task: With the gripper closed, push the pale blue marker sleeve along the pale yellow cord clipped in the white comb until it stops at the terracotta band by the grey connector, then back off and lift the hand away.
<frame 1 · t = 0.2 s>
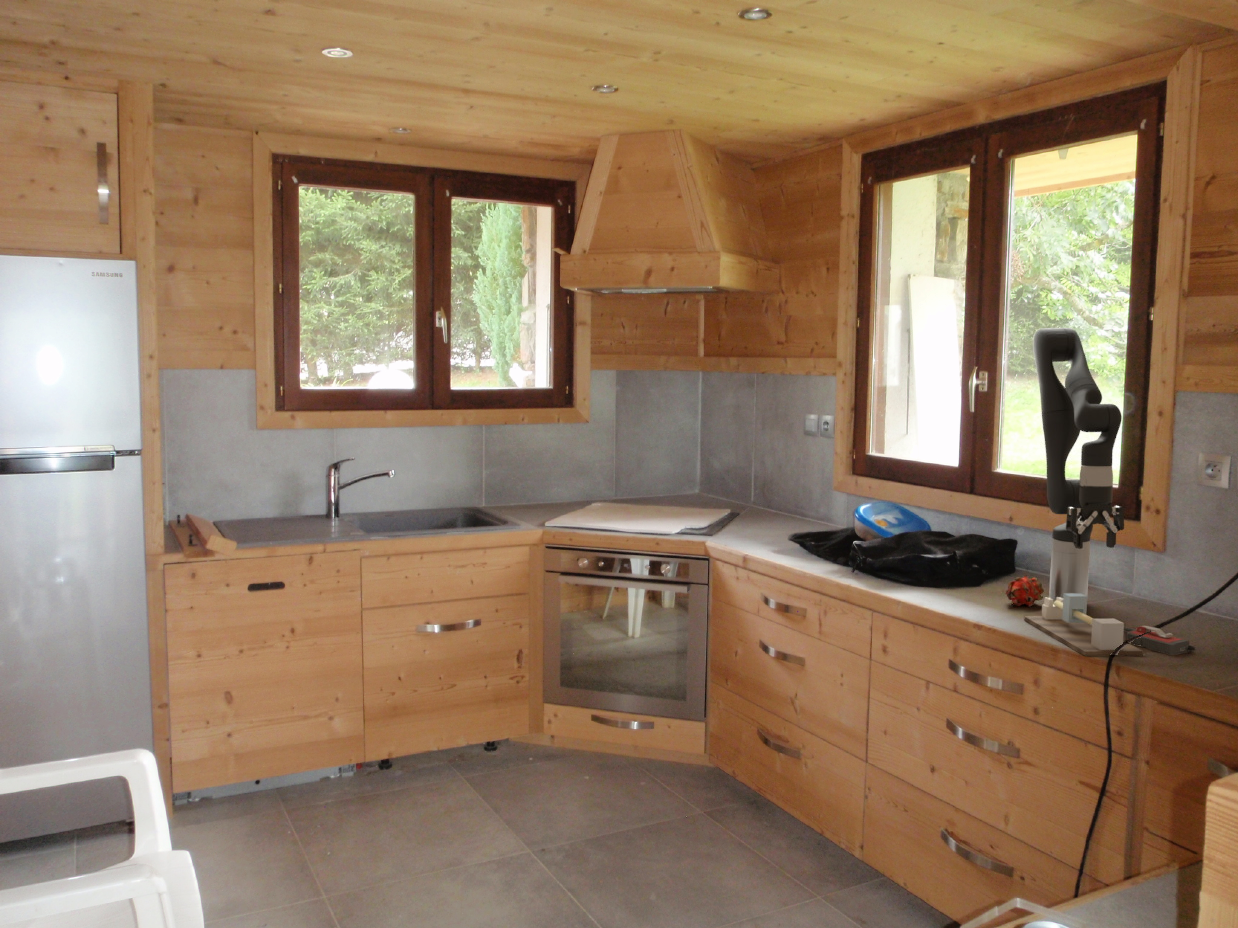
hand: (1094, 547, 250), 18 cm above the counter, tool pointing down, fingers open, 8 cm apart
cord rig: (1080, 619, 233), on the board, point 4 cm above the counter
sleeve: (1074, 608, 236), point 6 cm above the counter, slide at 0.0 cm
dragon fruit: (1023, 606, 263), on the counter
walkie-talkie: (1147, 645, 229), on the counter
board: (1079, 636, 233), on the counter
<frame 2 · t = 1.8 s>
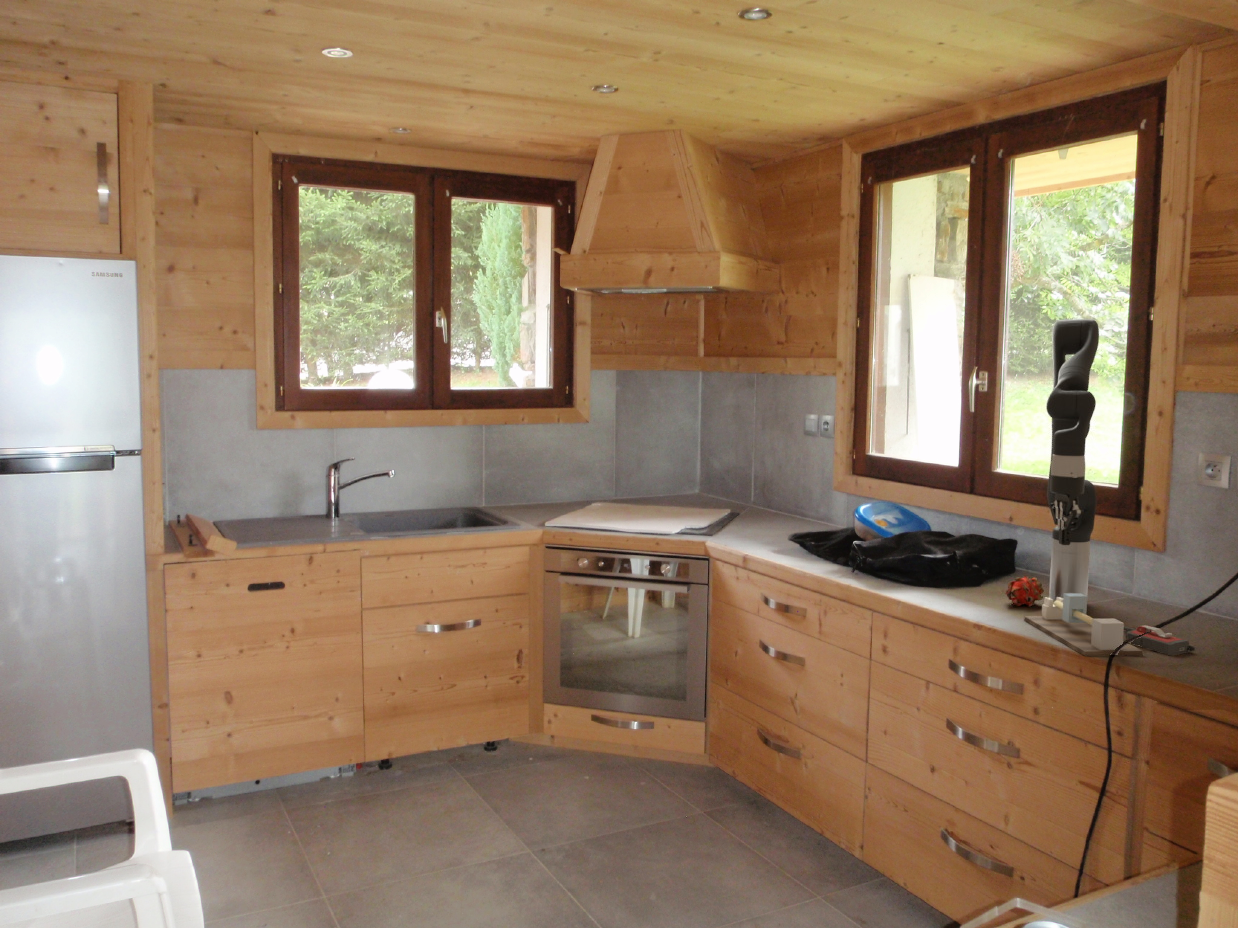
hand: (1064, 544, 241), 20 cm above the counter, tool pointing down, fingers closed
nothing on the counter moved.
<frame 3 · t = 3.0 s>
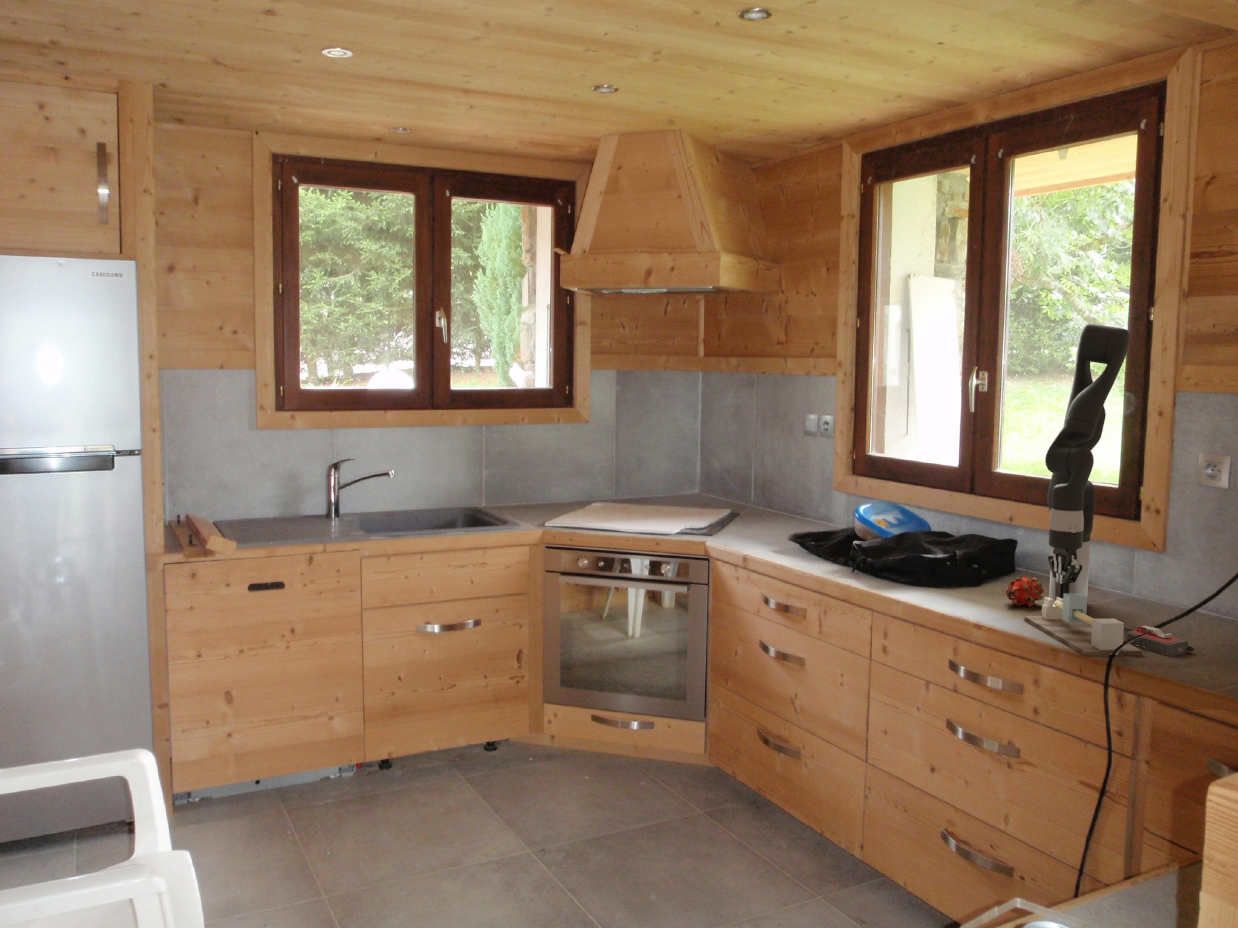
hand: (1063, 597, 242), 7 cm above the counter, tool pointing down, fingers closed
nothing on the counter moved.
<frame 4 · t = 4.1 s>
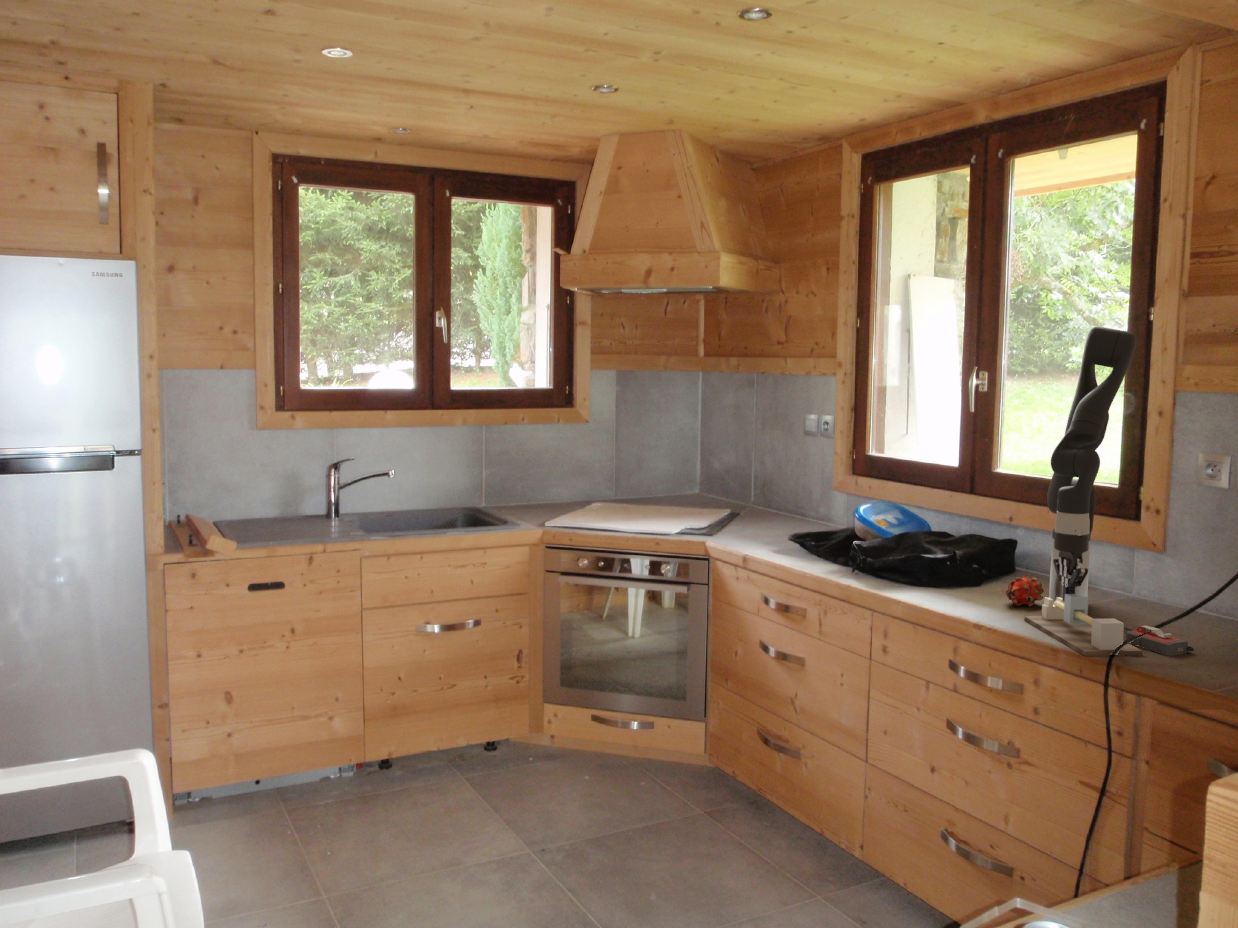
hand: (1068, 601, 239), 7 cm above the counter, tool pointing down, fingers closed
sleeve: (1075, 608, 235), point 6 cm above the counter, slide at 0.6 cm, touching gripper
everything else where it was.
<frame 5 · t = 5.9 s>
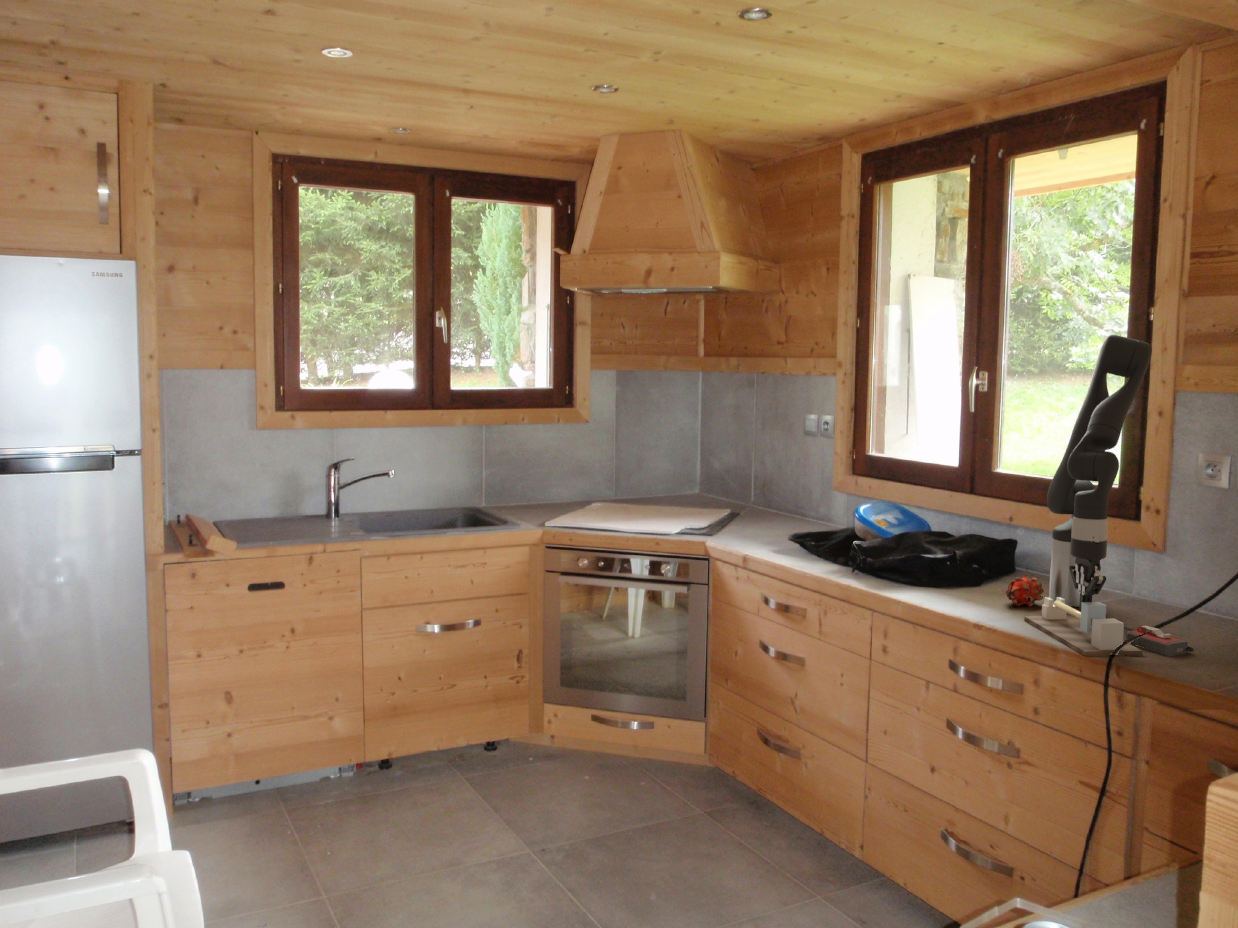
hand: (1085, 610, 231), 7 cm above the counter, tool pointing down, fingers closed
sleeve: (1093, 617, 227), point 6 cm above the counter, slide at 8.6 cm, touching gripper
everything else where it was.
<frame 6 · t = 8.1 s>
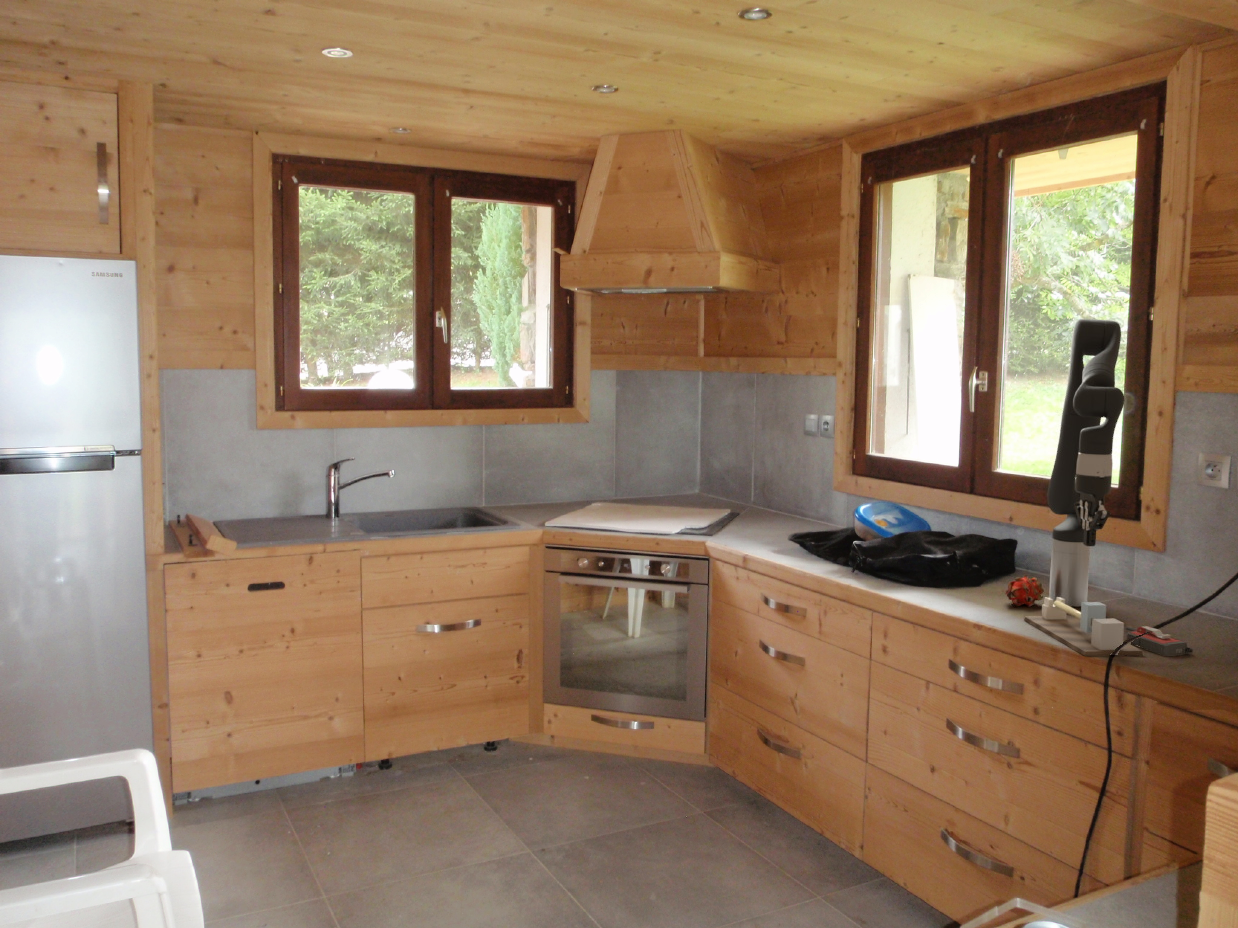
hand: (1089, 545, 233), 21 cm above the counter, tool pointing down, fingers closed
sleeve: (1093, 617, 227), point 6 cm above the counter, slide at 8.6 cm
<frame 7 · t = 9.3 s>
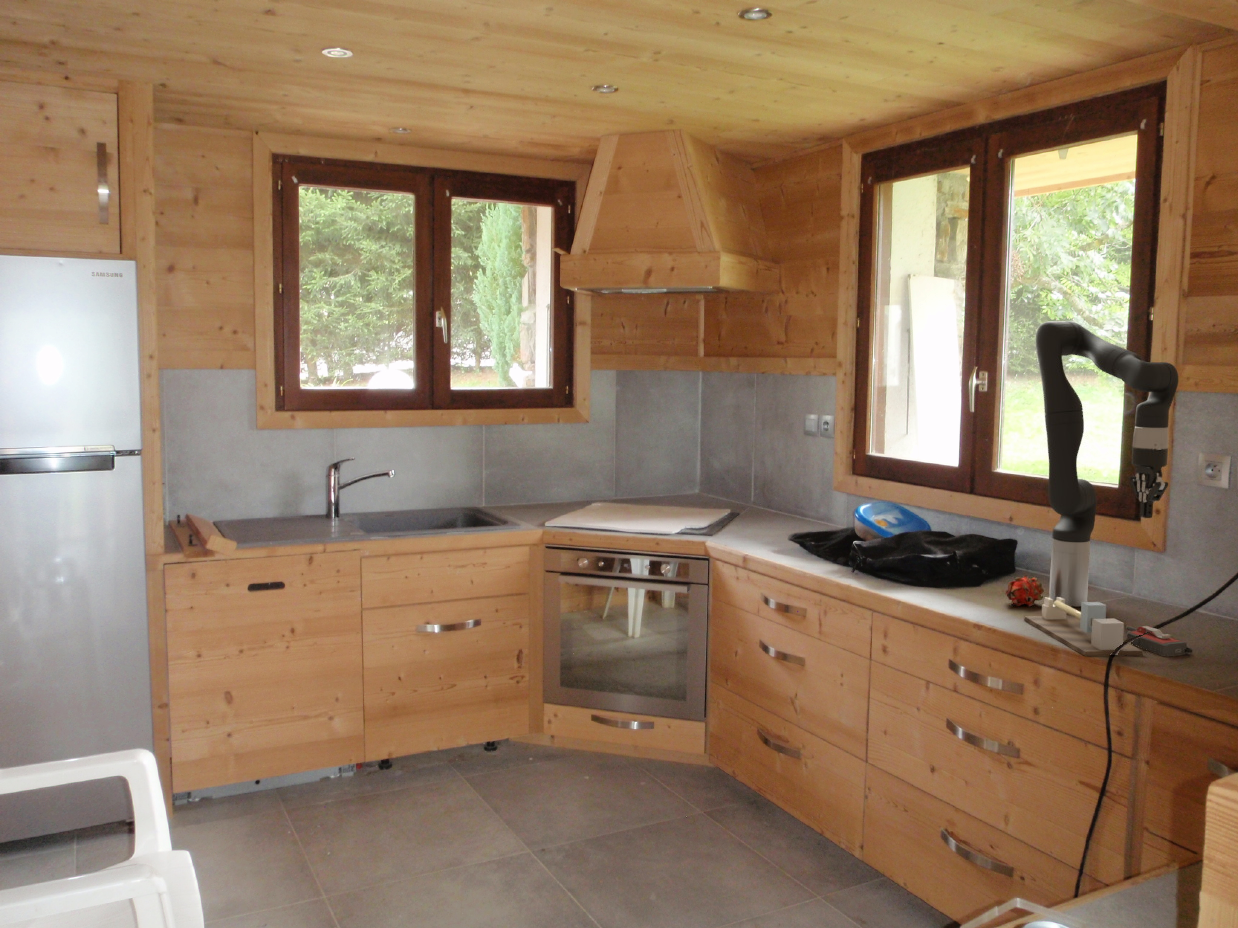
hand: (1146, 517, 239), 27 cm above the counter, tool pointing down, fingers closed
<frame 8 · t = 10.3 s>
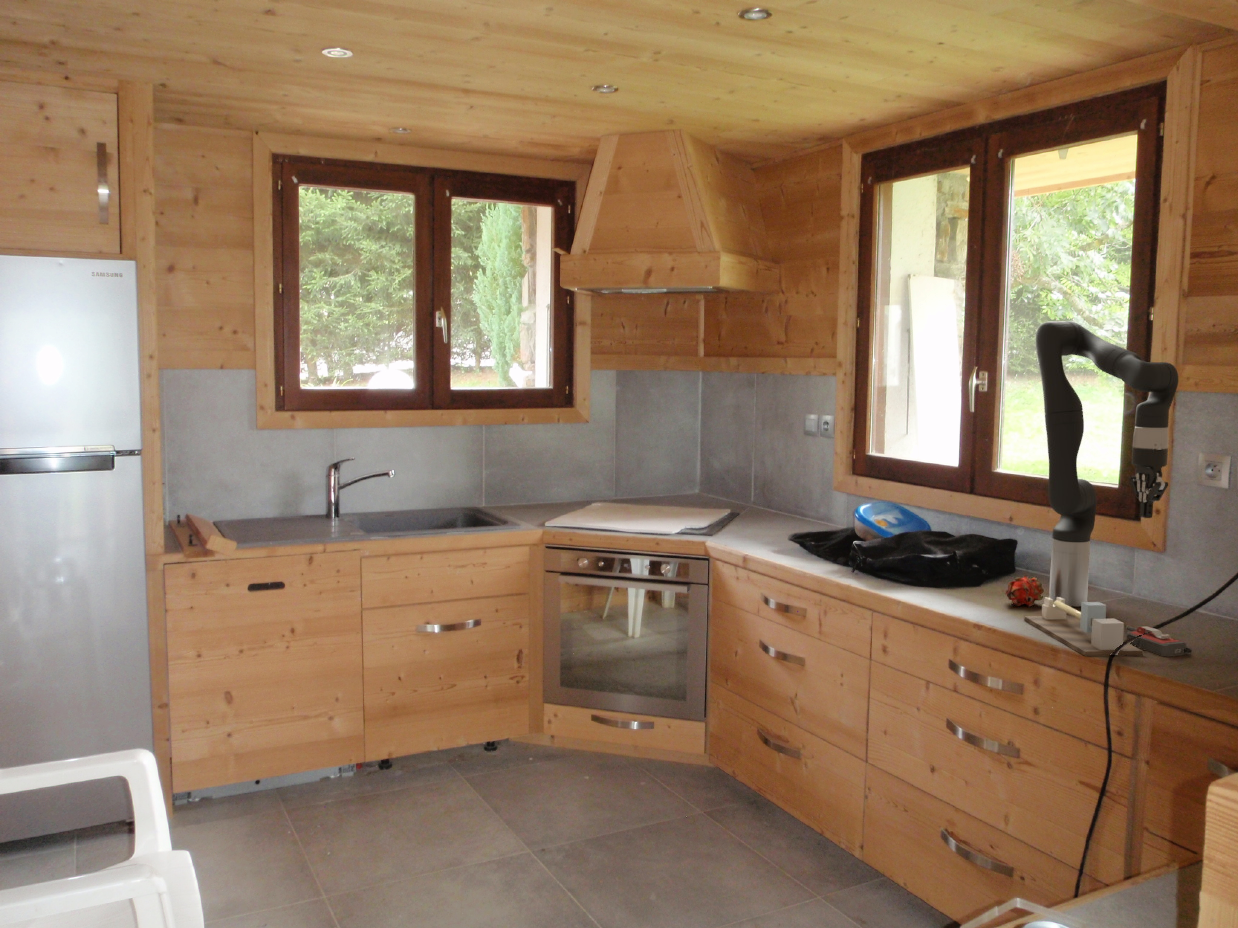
hand: (1146, 517, 239), 27 cm above the counter, tool pointing down, fingers closed
at the end: sleeve slide at 8.6 cm; the gripper is holding nothing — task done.
